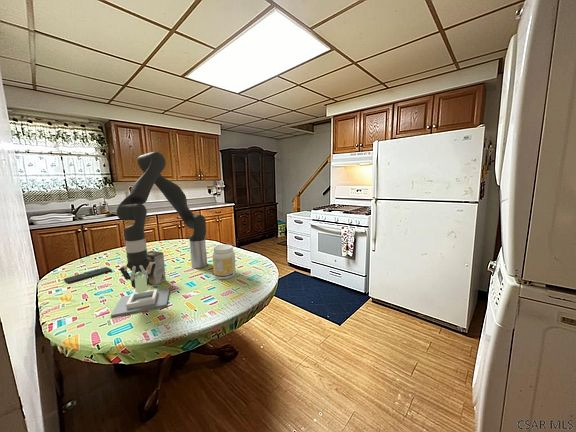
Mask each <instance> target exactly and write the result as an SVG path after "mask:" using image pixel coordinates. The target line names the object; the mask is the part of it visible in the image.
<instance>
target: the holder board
mask: <svg viewBox="0 0 576 432" xmlns="http://www.w3.org/2000/svg"><path fill="white" fill-rule="evenodd" d="M169 296H170V288H165V289H158V288H154V289H148V290H147V291H146V292H142V293H137V292H133V293H131V294H130V295H124V296H121V297H120V298H119V300H118V302H117V303H116V305H115V307H114V309H113V310H112V313H110V318H115V317H121V316H125V315H130V314H137V313H141V312H146V311H152V310H155V309H160V308H167V306H168V300H169Z"/></svg>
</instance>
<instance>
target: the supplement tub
mask: <svg viewBox="0 0 576 432" xmlns="http://www.w3.org/2000/svg"><path fill="white" fill-rule="evenodd" d="M212 262H213V263H212V265H213V276H214V278H215V279H218V280H228V279H232V278H233V277H234V276H235V275H236V272H237V271H236V254H235V250H234V247H233V245H231V244H219V245H215V246H214V247H213V253H212Z"/></svg>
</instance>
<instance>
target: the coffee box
mask: <svg viewBox="0 0 576 432" xmlns="http://www.w3.org/2000/svg"><path fill="white" fill-rule="evenodd" d="M147 255H148V260H149V261H150V262H156V266H155V270H154V273H153V276H150V277H149V279H150V283H149V284H152V285H156V286H157V285H159V284H161V283H163V282H165V281H166V279H167V278H166V276H167V275H166V268H165V267H166V266H165V257H164V256H165V255H164V252H163V251H155V250H149V251H147ZM151 268H152V267H150V265H148V266H147V270H148V273H150V272H151Z"/></svg>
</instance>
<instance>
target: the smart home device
mask: <svg viewBox="0 0 576 432" xmlns="http://www.w3.org/2000/svg"><path fill="white" fill-rule="evenodd" d="M112 271H113V270H112V268H110V267H107V266H106V267H101V268H98V269H95V270H91V271H87V272H83V273H79V274H75V275H72V276H69V277H65V278H63V281H64V282H66V283H67V284H69V285H70V284H73V283H76V282H77V283H78V282H81V281H83V280H87V279H90V278H94V277H98V276H100V275H105V274H107V273H110V272H112Z"/></svg>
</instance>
